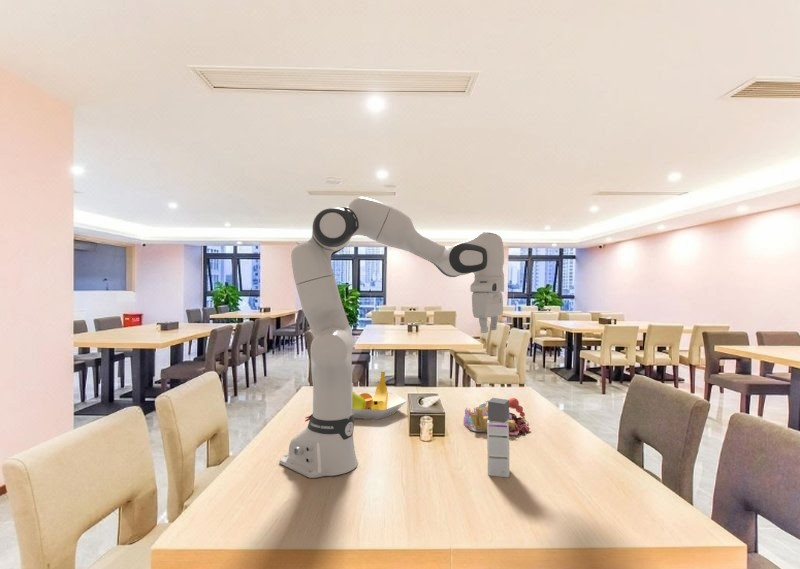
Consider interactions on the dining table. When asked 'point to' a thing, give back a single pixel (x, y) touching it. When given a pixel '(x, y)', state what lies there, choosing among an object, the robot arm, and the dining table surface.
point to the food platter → (480, 416)
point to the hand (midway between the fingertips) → (489, 331)
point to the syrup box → (498, 448)
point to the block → (498, 410)
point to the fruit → (375, 402)
